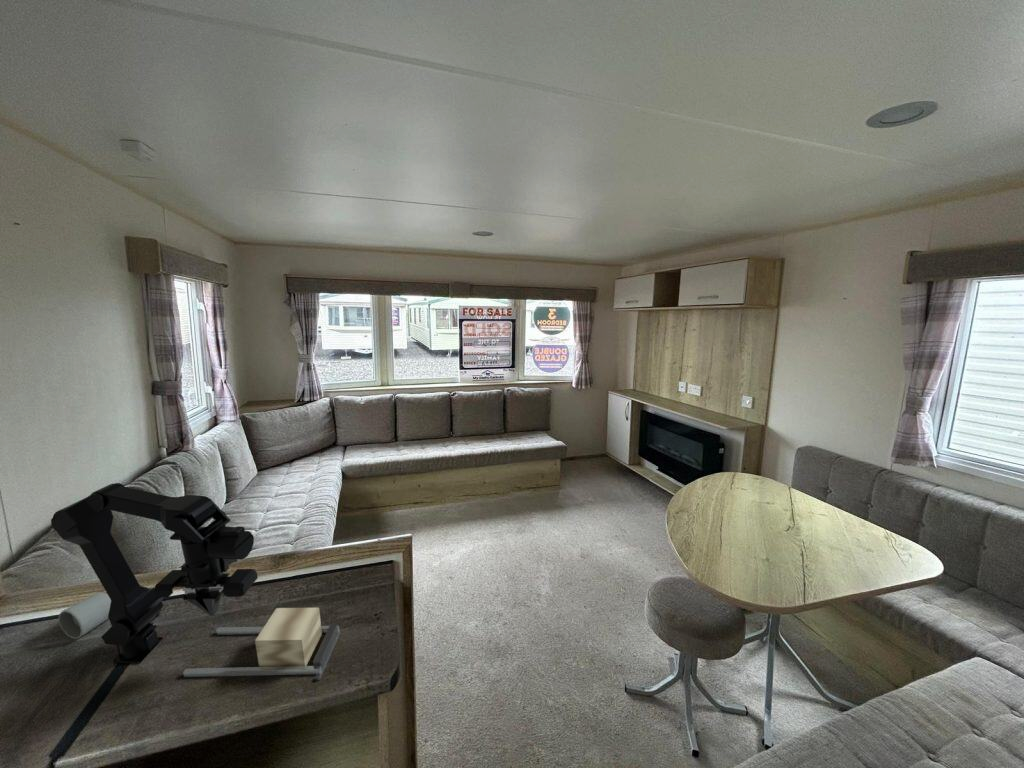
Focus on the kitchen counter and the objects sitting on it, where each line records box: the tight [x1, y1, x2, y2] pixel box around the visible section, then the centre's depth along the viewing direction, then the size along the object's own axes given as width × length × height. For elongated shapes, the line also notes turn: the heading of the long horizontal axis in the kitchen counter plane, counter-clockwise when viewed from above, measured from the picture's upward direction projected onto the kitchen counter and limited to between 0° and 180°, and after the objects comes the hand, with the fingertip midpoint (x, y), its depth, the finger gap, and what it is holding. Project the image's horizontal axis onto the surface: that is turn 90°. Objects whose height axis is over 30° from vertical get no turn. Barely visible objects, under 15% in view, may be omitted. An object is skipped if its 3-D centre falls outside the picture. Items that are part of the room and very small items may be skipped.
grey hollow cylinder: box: [58, 591, 111, 640], centre depth 100 cm, size 11×8×8 cm
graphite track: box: [182, 623, 341, 681], centre depth 93 cm, size 29×12×4 cm, turn 93°
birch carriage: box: [254, 607, 323, 667], centre depth 93 cm, size 10×9×8 cm
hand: (213, 614), depth 90 cm, fingers closed
